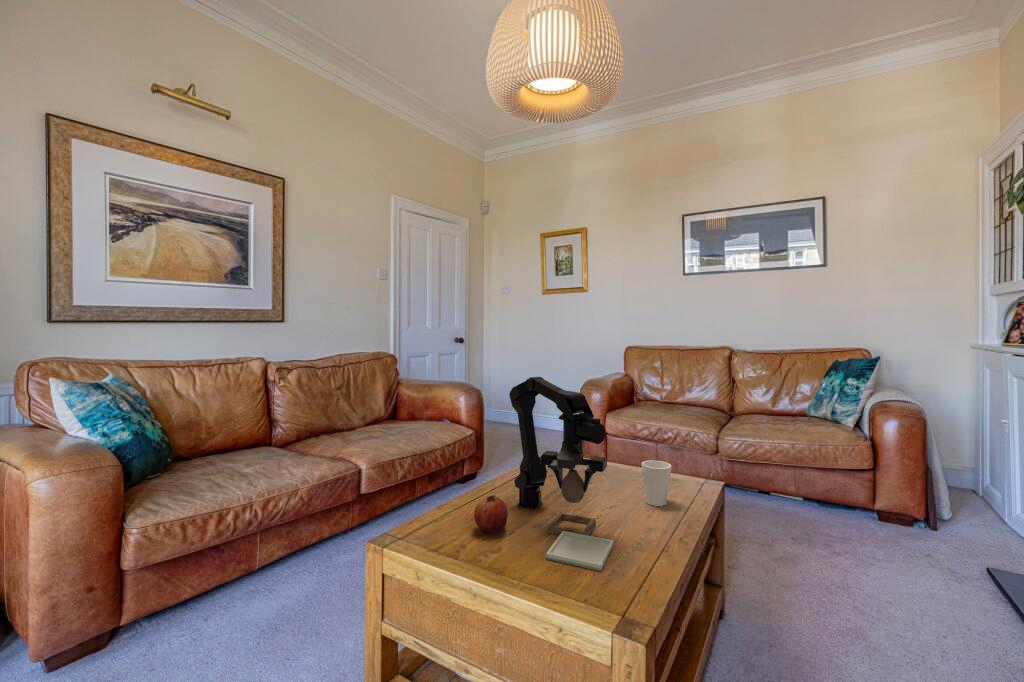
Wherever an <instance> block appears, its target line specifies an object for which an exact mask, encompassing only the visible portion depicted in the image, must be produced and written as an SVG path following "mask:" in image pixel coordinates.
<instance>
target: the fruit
mask: <svg viewBox="0 0 1024 682" xmlns="http://www.w3.org/2000/svg"><path fill="white" fill-rule="evenodd" d="M473 514H474V515H473V516H474V522H475V524H476V526H477V527H478V528H479V529H480V530H482V531H483V530H484V531H485V532H487V533H496V532H499V531H501V530H503V529H504V528H505V527H506V525H507V521H508V517H509V516H508V515H509V514H508V507H507V505H506V503H505V501H503V500H502V499H501V498H499V497H497V496H496V495H489V496H486V498H483V499H482V500H480V501H478V502H477V504H476V506H475V507H474V513H473Z"/></svg>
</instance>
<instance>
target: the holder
mask: <svg viewBox="0 0 1024 682" xmlns="http://www.w3.org/2000/svg"><path fill="white" fill-rule="evenodd" d="M562 521H567V522H568V521H569V522H573V523H581V524H586V527H585V528H584V530H579V529H574V528H569V527H564V526H559V524H560V523H561V522H562ZM596 525H597V519H596V517H593V516H585V515H579V514H574V513H568V512H563V511H560V512H559V513H558V514H557V515H556V516H555V518H554V519H553V520H552V522H551V523H549V525H548V533H550V534H555V535H558V536H560V534H561V533H562V532H563V531H567V532H572V533H577V534H583V535H588V536H590V534H591V532H593V530H594V528H595V526H596Z"/></svg>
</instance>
